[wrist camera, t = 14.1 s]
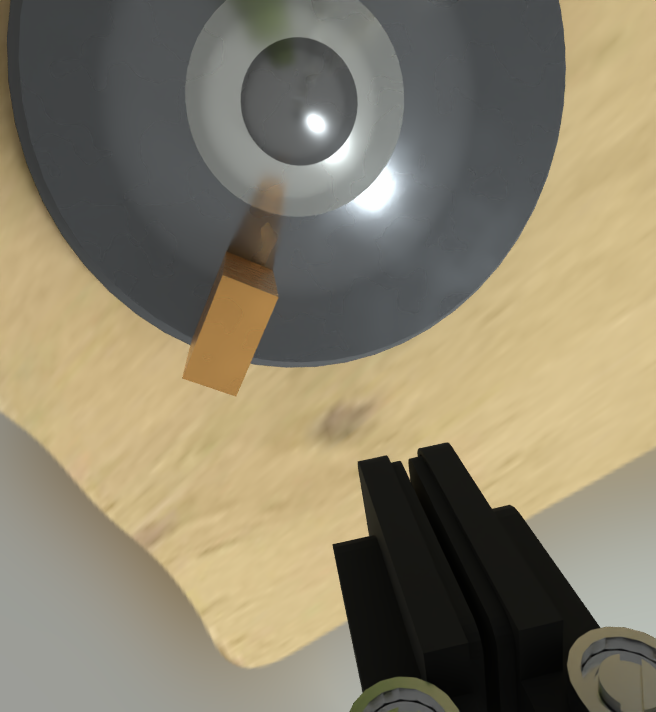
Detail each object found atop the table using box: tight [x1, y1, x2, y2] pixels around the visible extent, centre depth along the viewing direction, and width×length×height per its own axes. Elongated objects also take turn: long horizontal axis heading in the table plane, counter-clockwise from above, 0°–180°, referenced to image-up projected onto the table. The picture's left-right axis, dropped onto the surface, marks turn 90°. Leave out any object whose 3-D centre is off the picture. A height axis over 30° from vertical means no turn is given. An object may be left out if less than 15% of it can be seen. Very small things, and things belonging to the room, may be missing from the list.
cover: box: [185, 0, 404, 217], centre depth 19 cm, size 7×7×4 cm
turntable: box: [19, 0, 565, 396], centre depth 20 cm, size 20×20×6 cm
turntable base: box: [7, 0, 566, 367], centre depth 23 cm, size 22×22×1 cm
